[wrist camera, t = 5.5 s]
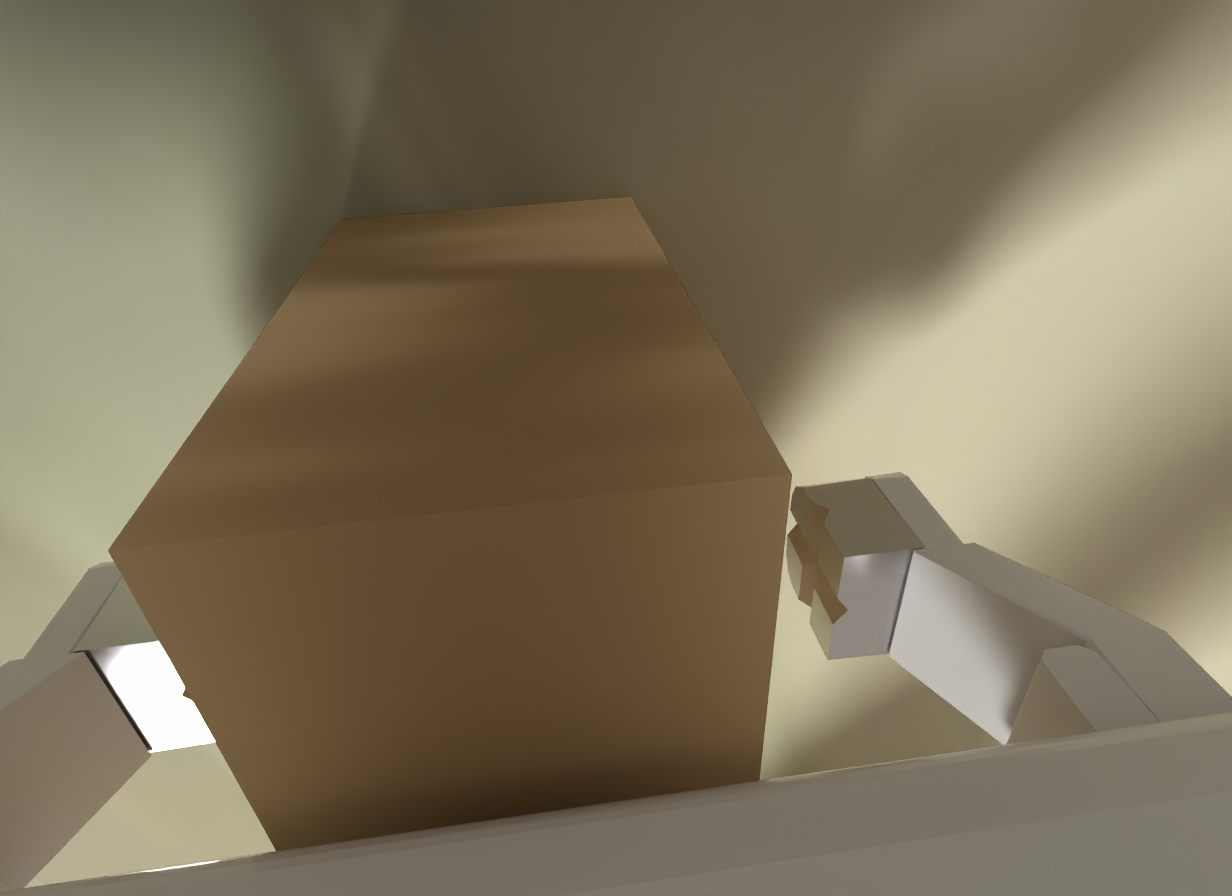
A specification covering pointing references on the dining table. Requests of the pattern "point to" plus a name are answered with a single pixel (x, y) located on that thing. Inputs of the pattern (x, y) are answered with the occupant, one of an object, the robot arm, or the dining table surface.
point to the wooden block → (472, 533)
